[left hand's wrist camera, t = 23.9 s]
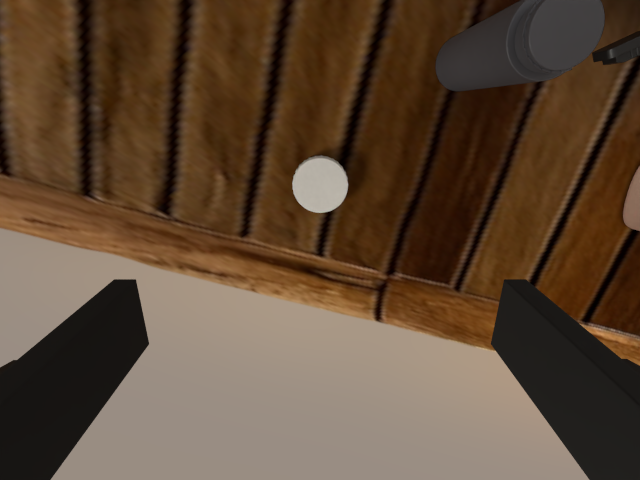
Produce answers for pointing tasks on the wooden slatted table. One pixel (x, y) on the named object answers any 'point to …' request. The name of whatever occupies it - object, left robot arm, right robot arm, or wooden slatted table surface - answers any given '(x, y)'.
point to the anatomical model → (633, 203)
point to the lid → (320, 184)
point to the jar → (522, 44)
